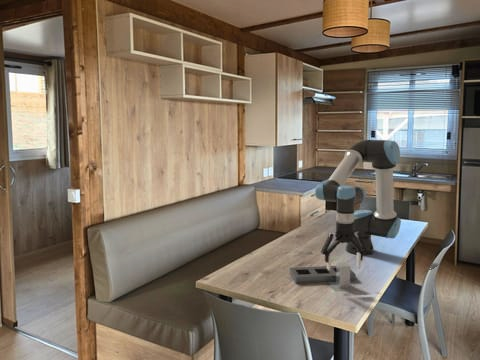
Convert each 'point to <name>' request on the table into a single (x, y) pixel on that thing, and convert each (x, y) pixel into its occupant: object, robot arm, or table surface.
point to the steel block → (343, 275)
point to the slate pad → (336, 288)
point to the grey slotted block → (316, 274)
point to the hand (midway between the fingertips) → (343, 268)
